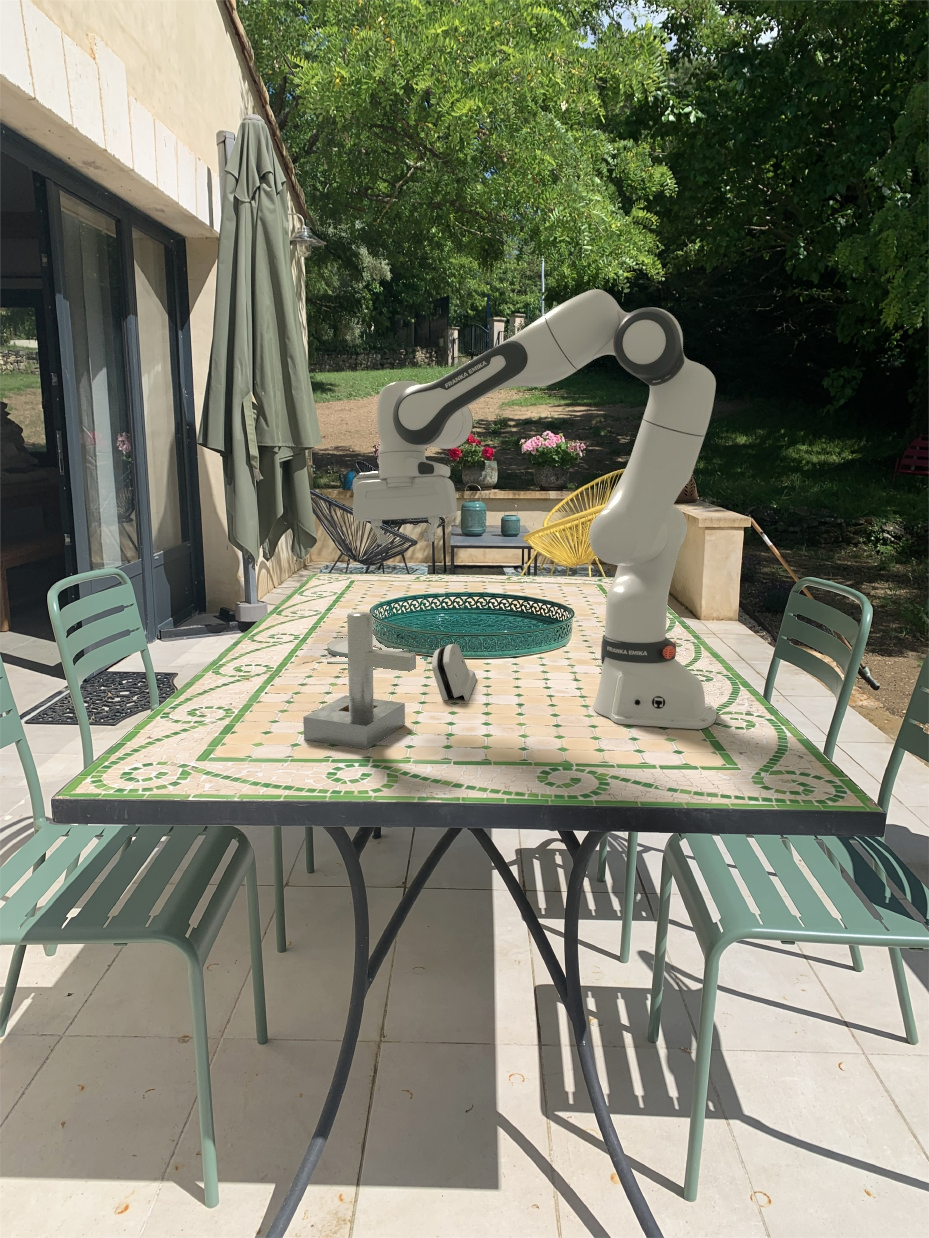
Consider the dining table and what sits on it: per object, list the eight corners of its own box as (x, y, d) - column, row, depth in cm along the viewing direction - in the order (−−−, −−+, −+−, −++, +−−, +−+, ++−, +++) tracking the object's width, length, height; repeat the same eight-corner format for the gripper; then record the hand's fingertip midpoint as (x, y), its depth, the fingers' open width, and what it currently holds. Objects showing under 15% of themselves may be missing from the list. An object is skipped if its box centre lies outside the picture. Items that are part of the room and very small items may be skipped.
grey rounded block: (467, 701, 174) (450, 653, 173) (444, 708, 175) (427, 661, 173) (477, 678, 190) (461, 634, 189) (456, 685, 191) (440, 641, 190)
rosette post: (443, 730, 157) (443, 606, 153) (407, 756, 145) (407, 621, 140) (346, 716, 165) (343, 597, 160) (304, 739, 152) (300, 611, 147)
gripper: (345, 472, 171) (348, 545, 172) (447, 464, 165) (450, 540, 165) (359, 474, 177) (362, 545, 178) (458, 467, 171) (461, 540, 171)
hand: (405, 542), depth 172 cm, fingers open, 8 cm apart
